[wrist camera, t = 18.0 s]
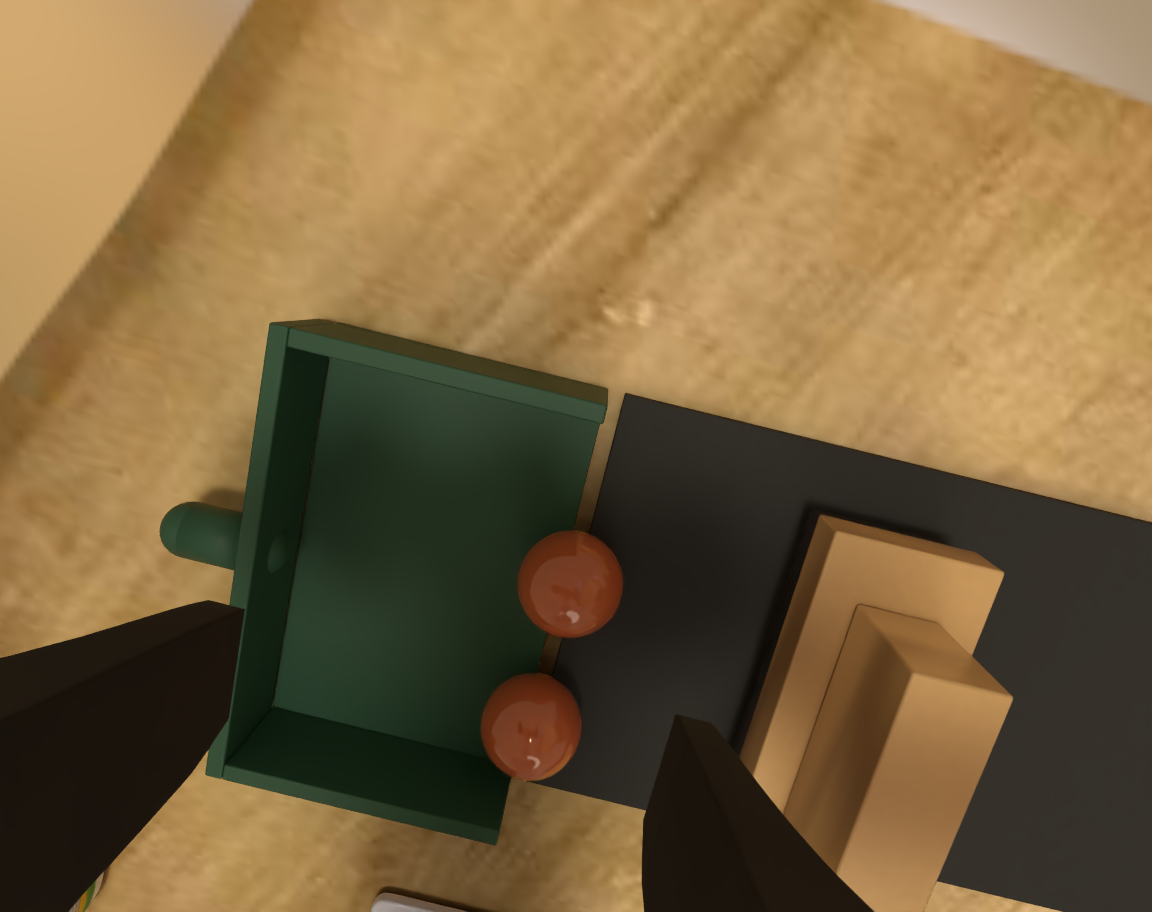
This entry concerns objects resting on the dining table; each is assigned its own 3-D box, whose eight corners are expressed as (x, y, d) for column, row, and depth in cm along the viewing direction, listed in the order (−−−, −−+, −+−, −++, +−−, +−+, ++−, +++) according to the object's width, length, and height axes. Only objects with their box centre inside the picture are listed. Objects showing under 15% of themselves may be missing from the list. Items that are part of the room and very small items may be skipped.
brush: (839, 832, 23) (924, 1033, 17) (706, 800, 23) (742, 988, 17) (951, 534, 21) (1099, 636, 15) (804, 498, 21) (888, 585, 15)
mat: (1305, 964, 24) (1314, 973, 23) (526, 775, 24) (525, 781, 23) (1510, 610, 21) (1522, 615, 21) (625, 392, 21) (625, 394, 20)
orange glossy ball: (538, 497, 21) (636, 524, 20) (551, 559, 23) (641, 586, 22) (488, 579, 19) (594, 614, 18) (507, 639, 21) (603, 672, 20)
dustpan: (608, 388, 21) (607, 405, 18) (512, 772, 24) (495, 846, 20) (227, 294, 21) (156, 294, 18) (176, 690, 24) (107, 752, 20)
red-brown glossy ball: (512, 818, 19) (460, 761, 22) (599, 781, 21) (542, 732, 24) (517, 715, 19) (463, 669, 21) (606, 687, 21) (546, 646, 23)
